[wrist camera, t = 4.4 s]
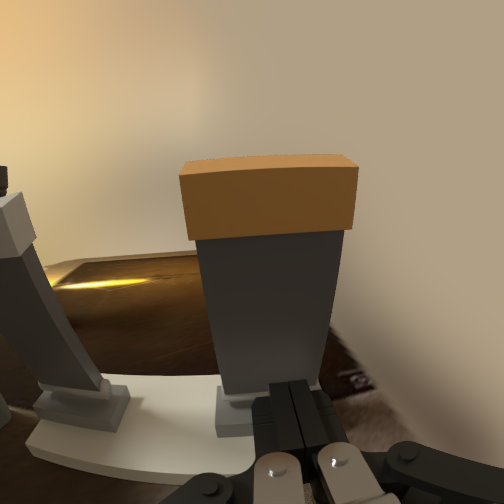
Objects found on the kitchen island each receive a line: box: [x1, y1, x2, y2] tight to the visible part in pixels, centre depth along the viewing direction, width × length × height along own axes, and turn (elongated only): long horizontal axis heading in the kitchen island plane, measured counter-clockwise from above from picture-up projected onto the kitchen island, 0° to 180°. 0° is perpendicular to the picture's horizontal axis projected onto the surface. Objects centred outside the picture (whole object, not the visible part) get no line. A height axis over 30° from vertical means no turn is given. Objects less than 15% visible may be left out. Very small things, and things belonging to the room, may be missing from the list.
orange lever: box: [179, 154, 359, 402], centre depth 15 cm, size 2×6×16 cm, turn 94°
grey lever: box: [0, 192, 112, 400], centre depth 14 cm, size 2×6×16 cm, turn 94°
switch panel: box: [25, 374, 322, 485], centre depth 19 cm, size 11×23×3 cm, turn 93°
